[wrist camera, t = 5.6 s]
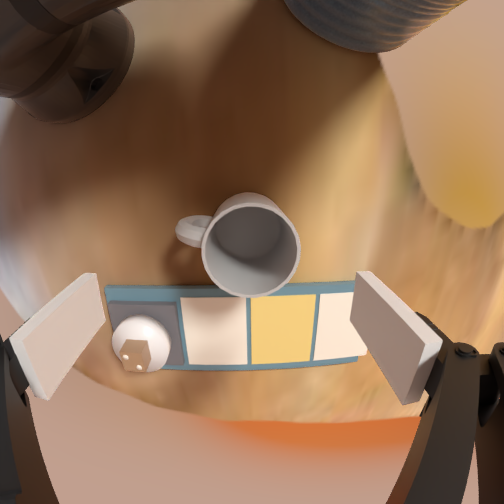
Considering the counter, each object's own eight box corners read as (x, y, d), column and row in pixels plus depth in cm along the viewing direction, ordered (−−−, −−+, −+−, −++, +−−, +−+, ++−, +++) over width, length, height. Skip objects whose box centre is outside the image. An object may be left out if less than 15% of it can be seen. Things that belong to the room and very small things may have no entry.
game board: (107, 285, 31) (100, 291, 29) (375, 279, 32) (382, 285, 30) (125, 361, 34) (120, 370, 33) (361, 356, 35) (366, 364, 34)
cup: (276, 266, 31) (288, 304, 23) (181, 250, 30) (160, 283, 22) (290, 198, 29) (310, 212, 21) (190, 181, 28) (170, 188, 20)
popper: (112, 313, 30) (96, 334, 25) (167, 315, 30) (156, 337, 25) (124, 359, 31) (112, 383, 27) (175, 363, 32) (167, 388, 27)
